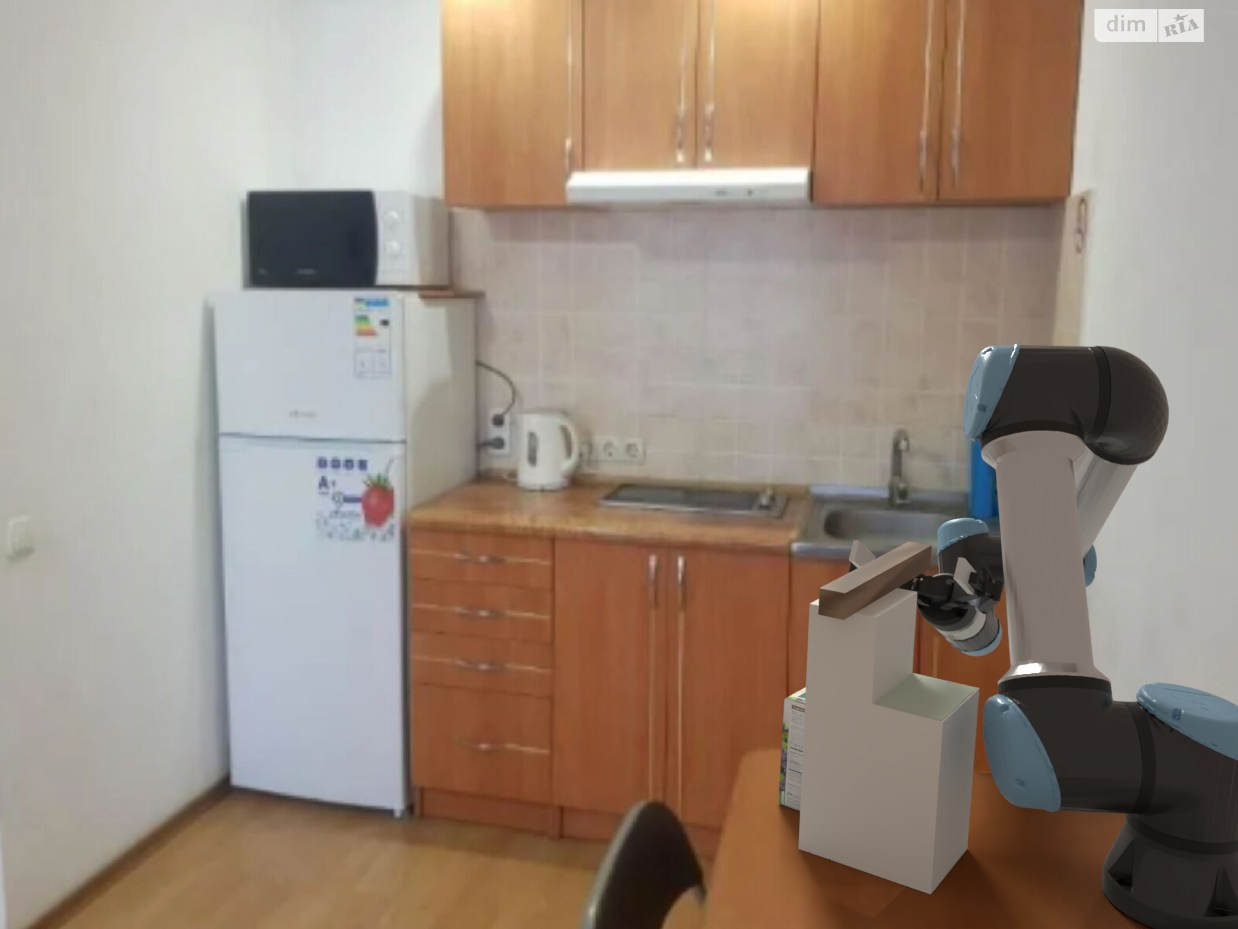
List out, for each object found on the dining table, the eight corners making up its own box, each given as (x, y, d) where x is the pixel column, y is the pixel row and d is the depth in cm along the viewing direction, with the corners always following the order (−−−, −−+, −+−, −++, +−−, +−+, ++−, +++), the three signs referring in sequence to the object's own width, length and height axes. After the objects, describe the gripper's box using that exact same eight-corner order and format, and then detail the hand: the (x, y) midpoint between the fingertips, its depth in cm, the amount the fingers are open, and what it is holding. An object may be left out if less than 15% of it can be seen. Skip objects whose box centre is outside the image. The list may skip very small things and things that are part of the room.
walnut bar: (930, 568, 141) (931, 545, 140) (843, 620, 120) (845, 593, 120) (907, 564, 143) (908, 541, 142) (818, 614, 122) (819, 588, 121)
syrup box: (800, 788, 146) (805, 683, 144) (840, 802, 143) (846, 695, 140) (777, 804, 142) (782, 696, 139) (818, 819, 138) (823, 708, 136)
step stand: (967, 849, 132) (985, 604, 126) (930, 894, 122) (949, 632, 116) (841, 809, 141) (853, 580, 135) (798, 848, 131) (809, 603, 126)
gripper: (1037, 651, 147) (999, 606, 130) (860, 614, 161) (806, 570, 145) (1049, 597, 149) (1013, 546, 132) (873, 565, 163) (821, 516, 147)
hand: (905, 558), depth 138 cm, fingers open, 13 cm apart
